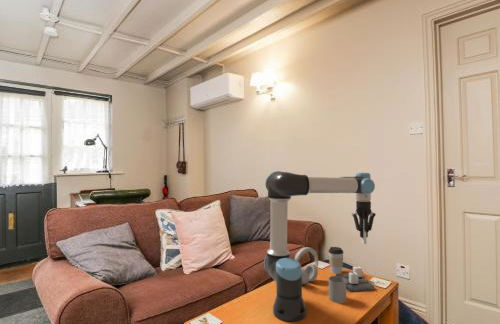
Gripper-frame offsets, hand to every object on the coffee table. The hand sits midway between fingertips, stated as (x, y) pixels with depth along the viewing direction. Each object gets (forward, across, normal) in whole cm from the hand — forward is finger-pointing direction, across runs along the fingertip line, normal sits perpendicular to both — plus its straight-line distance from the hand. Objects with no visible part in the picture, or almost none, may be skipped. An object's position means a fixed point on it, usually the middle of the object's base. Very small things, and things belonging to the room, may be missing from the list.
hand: (363, 243), depth 160 cm
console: (+24, -4, +4) cm, 25 cm away
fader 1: (+21, 0, +8) cm, 23 cm away
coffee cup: (+24, -7, +22) cm, 33 cm away
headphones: (+24, -30, +9) cm, 40 cm away
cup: (+24, -20, -12) cm, 34 cm away
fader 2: (+21, -6, 0) cm, 22 cm away
